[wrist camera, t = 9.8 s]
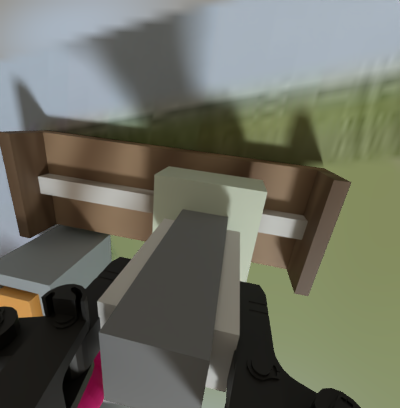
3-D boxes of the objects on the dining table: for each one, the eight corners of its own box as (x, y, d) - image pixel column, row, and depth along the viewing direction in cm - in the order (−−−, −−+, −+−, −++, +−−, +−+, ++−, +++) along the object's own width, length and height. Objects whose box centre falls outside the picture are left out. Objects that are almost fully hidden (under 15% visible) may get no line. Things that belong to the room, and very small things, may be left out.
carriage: (262, 180, 15) (319, 320, 4) (244, 260, 18) (251, 480, 7) (168, 166, 16) (17, 254, 5) (164, 245, 19) (56, 417, 8)
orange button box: (110, 234, 23) (49, 285, 16) (112, 278, 25) (59, 342, 18) (60, 224, 24) (-21, 269, 17) (66, 268, 26) (-3, 325, 19)
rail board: (324, 168, 17) (351, 182, 13) (294, 261, 20) (308, 296, 16) (46, 130, 20) (-3, 131, 16) (58, 216, 24) (20, 236, 19)
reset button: (83, 256, 22) (28, 301, 16) (85, 280, 23) (35, 330, 17) (56, 250, 22) (-6, 293, 16) (60, 274, 23) (3, 321, 18)
